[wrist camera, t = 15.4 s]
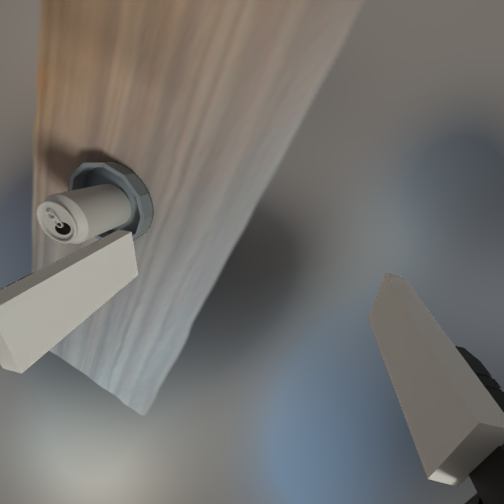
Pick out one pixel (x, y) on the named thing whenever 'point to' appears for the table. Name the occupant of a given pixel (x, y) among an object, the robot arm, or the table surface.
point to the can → (83, 213)
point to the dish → (127, 183)
